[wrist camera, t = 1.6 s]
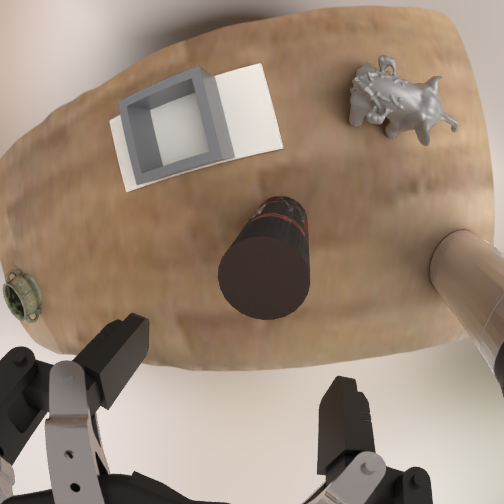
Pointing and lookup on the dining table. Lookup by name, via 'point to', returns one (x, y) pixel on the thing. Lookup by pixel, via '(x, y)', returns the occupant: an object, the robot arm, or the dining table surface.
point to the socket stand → (193, 124)
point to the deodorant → (268, 262)
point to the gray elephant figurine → (396, 101)
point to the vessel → (22, 296)
